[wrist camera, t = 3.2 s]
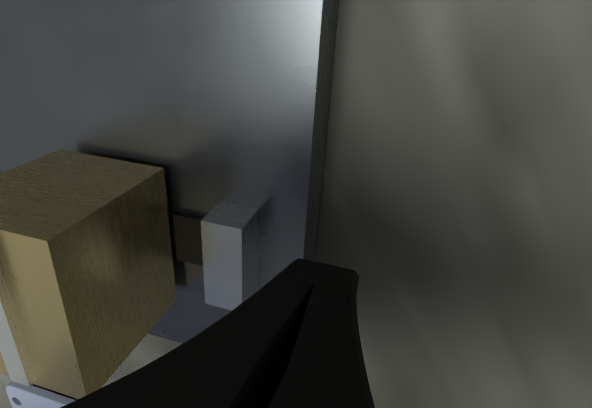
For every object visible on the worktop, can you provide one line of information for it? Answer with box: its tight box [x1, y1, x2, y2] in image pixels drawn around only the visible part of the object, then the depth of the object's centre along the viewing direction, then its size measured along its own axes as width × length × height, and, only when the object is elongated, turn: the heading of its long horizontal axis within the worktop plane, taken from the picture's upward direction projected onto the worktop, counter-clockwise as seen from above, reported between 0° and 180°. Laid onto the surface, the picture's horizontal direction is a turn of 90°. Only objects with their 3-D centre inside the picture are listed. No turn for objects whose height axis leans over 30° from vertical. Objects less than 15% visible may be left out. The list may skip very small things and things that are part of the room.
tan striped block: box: [0, 149, 176, 399], centre depth 10 cm, size 4×3×4 cm
